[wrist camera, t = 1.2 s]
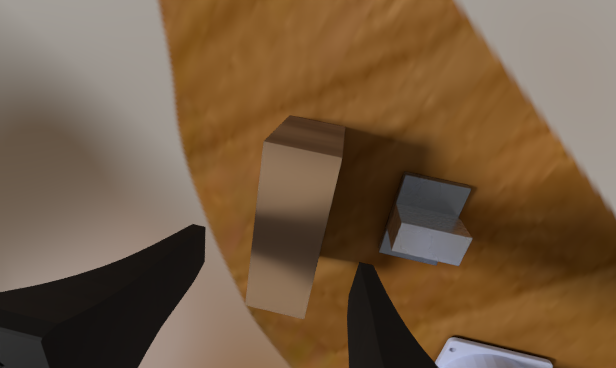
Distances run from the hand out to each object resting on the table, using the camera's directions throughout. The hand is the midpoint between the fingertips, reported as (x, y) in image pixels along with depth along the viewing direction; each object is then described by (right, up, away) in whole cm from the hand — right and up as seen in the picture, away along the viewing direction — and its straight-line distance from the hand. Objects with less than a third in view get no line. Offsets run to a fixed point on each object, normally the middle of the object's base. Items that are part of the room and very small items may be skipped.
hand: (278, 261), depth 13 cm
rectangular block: (+1, +3, +7) cm, 8 cm away
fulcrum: (+9, +1, +6) cm, 11 cm away
